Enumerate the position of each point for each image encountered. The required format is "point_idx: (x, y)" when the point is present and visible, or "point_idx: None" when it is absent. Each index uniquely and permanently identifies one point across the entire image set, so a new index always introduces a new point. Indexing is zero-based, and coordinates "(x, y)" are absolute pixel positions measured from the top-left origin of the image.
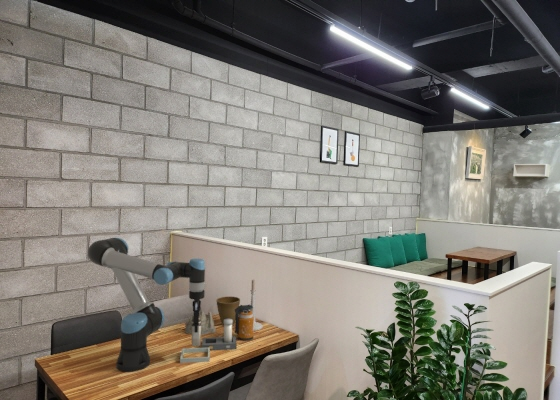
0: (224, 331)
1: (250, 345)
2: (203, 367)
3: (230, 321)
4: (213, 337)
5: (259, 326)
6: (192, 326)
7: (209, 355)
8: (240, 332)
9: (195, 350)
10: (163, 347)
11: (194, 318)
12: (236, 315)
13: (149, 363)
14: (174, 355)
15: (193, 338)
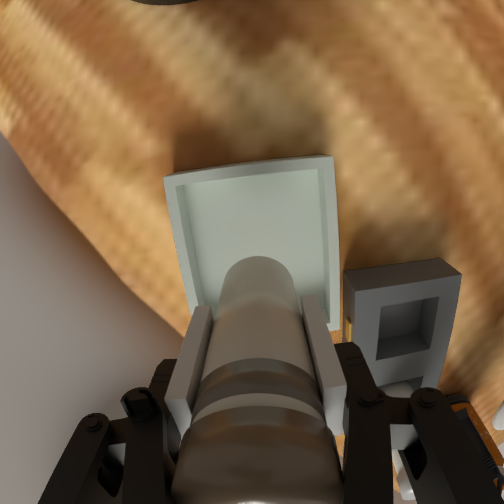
0: None
1: None
2: (157, 302)
3: (403, 497)
4: (450, 332)
5: (501, 428)
6: (220, 365)
7: None
8: None
9: (326, 245)
10: (419, 37)
11: (51, 499)
12: (492, 469)
13: (178, 2)
14: (311, 109)
15: (196, 309)
